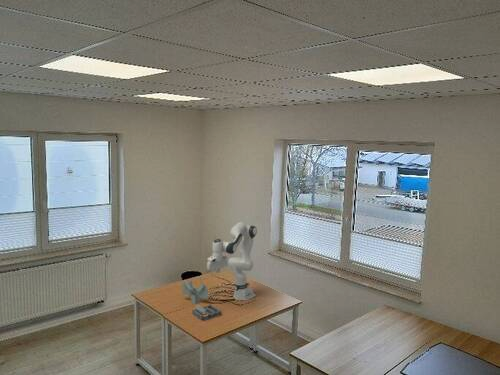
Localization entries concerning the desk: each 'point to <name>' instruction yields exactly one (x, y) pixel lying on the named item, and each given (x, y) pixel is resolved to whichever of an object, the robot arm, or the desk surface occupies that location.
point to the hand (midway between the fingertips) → (217, 272)
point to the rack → (207, 313)
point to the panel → (201, 310)
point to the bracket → (195, 292)
